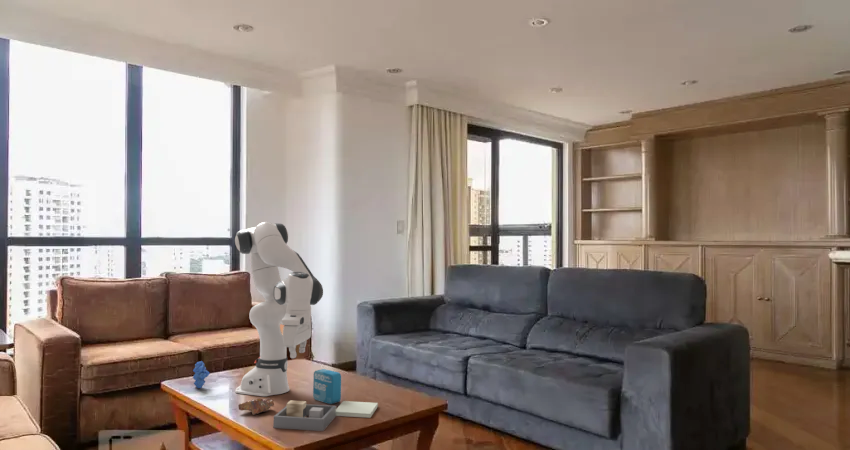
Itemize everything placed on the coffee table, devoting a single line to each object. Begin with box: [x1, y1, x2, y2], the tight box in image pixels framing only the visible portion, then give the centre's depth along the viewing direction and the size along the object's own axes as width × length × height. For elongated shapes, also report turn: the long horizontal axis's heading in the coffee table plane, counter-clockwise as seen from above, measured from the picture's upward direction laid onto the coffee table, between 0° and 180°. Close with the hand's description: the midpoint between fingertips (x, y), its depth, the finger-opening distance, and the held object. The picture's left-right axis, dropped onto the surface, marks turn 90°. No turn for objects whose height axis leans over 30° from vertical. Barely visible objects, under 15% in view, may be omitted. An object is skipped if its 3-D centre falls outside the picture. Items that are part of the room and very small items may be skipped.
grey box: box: [308, 407, 323, 418], centre depth 211 cm, size 4×4×5 cm
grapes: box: [192, 360, 211, 389], centre depth 253 cm, size 12×7×12 cm, turn 37°
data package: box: [312, 368, 342, 405], centre depth 238 cm, size 12×4×12 cm, turn 51°
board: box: [336, 400, 379, 419], centre depth 225 cm, size 14×14×2 cm
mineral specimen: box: [238, 397, 275, 415], centre depth 221 cm, size 12×8×7 cm
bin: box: [272, 403, 337, 432], centre depth 211 cm, size 18×16×4 cm
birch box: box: [286, 399, 307, 417], centre depth 211 cm, size 6×4×7 cm, turn 83°
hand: (297, 355), depth 212 cm, fingers open, 8 cm apart
